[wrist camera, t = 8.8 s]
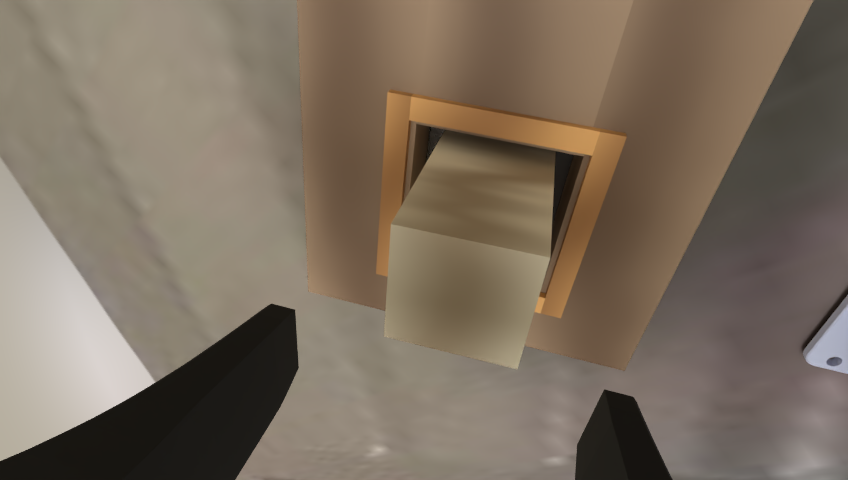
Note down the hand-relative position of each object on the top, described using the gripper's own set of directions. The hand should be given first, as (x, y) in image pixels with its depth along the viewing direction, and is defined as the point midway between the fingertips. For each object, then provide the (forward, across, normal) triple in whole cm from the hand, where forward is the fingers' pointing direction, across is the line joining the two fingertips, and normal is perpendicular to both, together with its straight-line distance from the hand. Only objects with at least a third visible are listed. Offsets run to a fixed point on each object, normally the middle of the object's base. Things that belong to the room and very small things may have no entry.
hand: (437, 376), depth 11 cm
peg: (+10, 0, 0) cm, 10 cm away
